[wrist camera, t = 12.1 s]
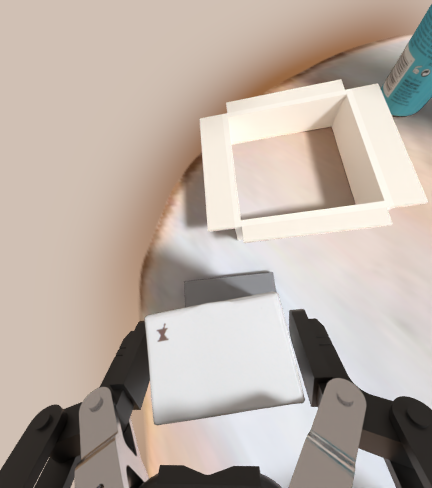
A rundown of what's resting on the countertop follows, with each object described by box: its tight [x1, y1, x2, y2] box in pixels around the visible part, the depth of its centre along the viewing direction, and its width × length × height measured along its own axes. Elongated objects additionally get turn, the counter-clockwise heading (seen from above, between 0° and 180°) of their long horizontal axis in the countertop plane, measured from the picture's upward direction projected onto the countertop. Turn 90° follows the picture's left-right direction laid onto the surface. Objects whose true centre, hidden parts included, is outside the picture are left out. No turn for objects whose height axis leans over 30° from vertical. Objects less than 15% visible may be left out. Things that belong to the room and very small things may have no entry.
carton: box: [200, 79, 428, 243], centre depth 22 cm, size 18×16×4 cm
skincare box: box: [145, 292, 305, 425], centre depth 14 cm, size 6×4×12 cm
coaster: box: [184, 272, 276, 307], centre depth 20 cm, size 9×9×1 cm
